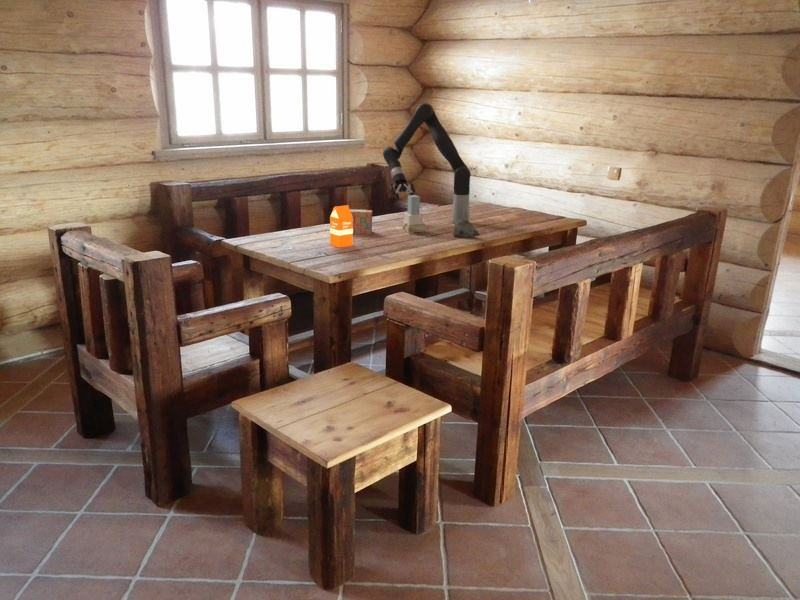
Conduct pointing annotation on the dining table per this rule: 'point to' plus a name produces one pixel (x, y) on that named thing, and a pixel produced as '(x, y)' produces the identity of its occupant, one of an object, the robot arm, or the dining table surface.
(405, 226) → the tower bottom slab
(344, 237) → the orange juice
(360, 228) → the stack of blocks
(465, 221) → the mineral rock
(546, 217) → the dining table surface
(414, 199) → the pillar block
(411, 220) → the tower top slab
